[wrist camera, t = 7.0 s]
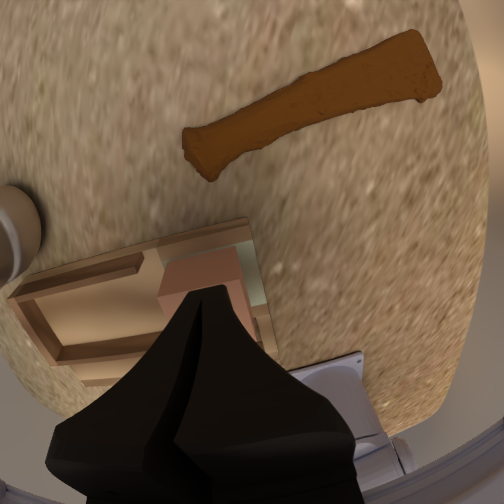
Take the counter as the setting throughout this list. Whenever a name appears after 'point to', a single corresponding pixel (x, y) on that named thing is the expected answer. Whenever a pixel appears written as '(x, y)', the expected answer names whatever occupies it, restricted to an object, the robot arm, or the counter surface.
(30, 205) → the plastic bottle
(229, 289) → the block
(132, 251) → the board
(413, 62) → the primitive tool
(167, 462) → the robot arm
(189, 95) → the counter surface
